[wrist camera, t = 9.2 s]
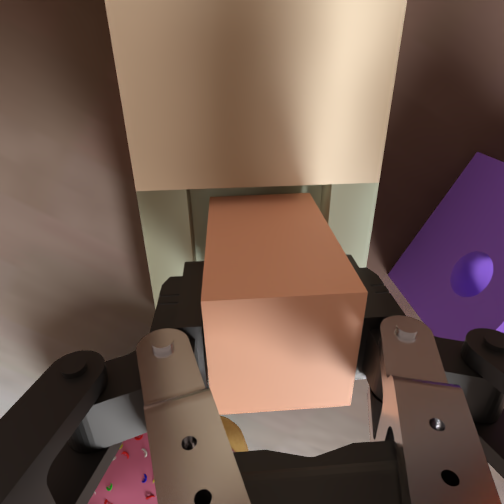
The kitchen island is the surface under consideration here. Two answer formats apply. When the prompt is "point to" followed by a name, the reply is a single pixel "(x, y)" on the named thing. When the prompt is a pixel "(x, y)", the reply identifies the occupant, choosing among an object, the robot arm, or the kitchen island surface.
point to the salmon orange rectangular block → (278, 306)
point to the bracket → (459, 256)
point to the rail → (253, 111)
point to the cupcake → (143, 470)
